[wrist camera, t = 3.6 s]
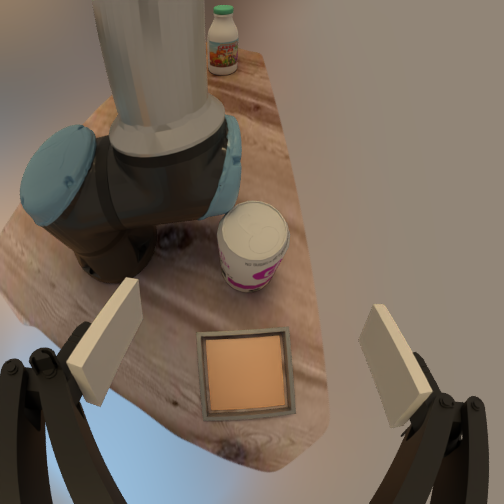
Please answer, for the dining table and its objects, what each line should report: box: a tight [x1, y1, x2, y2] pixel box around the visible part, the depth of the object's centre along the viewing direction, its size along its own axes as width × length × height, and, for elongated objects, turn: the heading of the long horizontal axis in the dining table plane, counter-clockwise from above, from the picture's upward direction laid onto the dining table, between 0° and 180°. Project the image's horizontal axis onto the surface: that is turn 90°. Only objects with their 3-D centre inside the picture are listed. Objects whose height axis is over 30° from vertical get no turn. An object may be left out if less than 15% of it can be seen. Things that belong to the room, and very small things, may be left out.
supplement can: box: [217, 201, 290, 292], centre depth 37 cm, size 8×8×15 cm
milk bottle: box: [208, 5, 238, 75], centre depth 52 cm, size 8×8×20 cm
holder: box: [196, 327, 296, 421], centre depth 37 cm, size 13×13×2 cm
